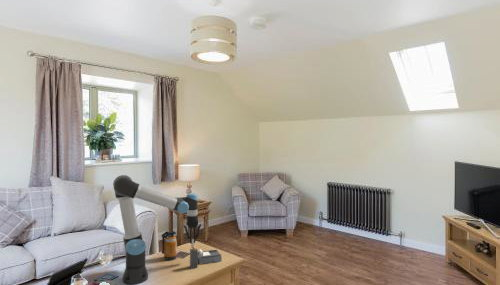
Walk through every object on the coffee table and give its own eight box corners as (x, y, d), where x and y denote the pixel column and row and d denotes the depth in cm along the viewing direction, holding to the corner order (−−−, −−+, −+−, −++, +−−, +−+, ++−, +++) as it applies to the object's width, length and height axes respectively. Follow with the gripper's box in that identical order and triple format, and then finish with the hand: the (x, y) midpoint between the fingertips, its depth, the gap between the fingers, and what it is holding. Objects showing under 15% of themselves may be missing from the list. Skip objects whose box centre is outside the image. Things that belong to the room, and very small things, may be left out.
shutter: (201, 257, 221) (201, 252, 221) (199, 253, 228) (199, 249, 228) (210, 255, 224) (210, 251, 224) (208, 252, 230) (208, 248, 230)
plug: (190, 268, 211) (191, 247, 211) (189, 266, 215) (190, 245, 215) (197, 267, 213) (197, 246, 213) (196, 265, 216) (196, 245, 216)
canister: (177, 259, 226) (177, 232, 226) (161, 261, 223) (161, 233, 223) (176, 255, 235) (176, 229, 235) (161, 256, 232) (161, 230, 231)
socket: (199, 264, 218) (199, 257, 218) (196, 258, 229) (196, 251, 229) (221, 261, 224) (221, 254, 224) (217, 255, 235) (217, 249, 235)
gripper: (184, 217, 216) (184, 250, 216) (202, 215, 221) (202, 248, 221) (182, 214, 223) (182, 247, 223) (200, 213, 228) (200, 244, 228)
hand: (192, 247), depth 222 cm, fingers closed
